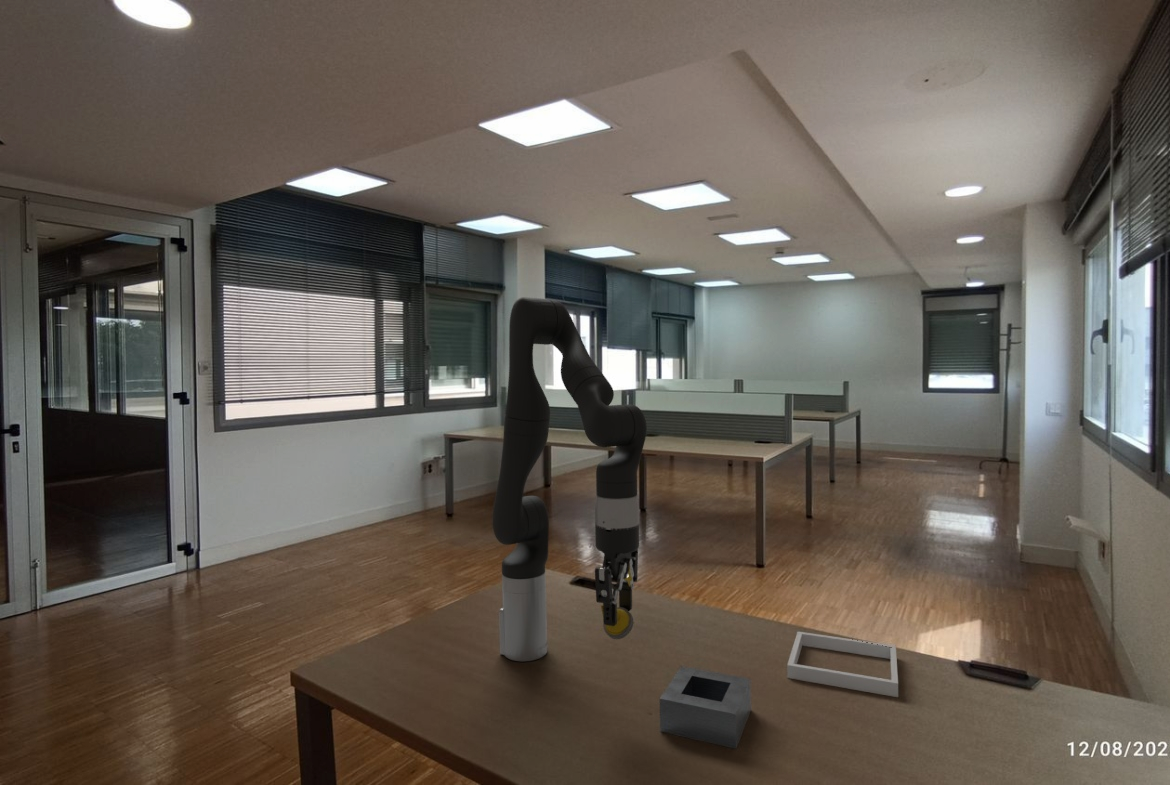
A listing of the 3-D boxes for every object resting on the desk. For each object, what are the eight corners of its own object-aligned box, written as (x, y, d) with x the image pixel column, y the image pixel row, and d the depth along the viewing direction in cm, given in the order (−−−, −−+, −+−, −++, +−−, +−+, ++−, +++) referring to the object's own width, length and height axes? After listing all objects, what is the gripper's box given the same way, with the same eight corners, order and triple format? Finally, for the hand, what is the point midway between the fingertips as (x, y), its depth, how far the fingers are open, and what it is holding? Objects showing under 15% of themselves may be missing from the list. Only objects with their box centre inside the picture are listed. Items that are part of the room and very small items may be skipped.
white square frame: (787, 677, 120) (787, 664, 120) (797, 642, 135) (797, 631, 135) (898, 697, 112) (898, 683, 111) (895, 657, 127) (895, 645, 127)
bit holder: (660, 731, 103) (659, 698, 102) (681, 695, 114) (681, 666, 114) (736, 748, 97) (735, 714, 97) (750, 709, 109) (750, 678, 108)
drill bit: (642, 640, 108) (617, 614, 102) (614, 650, 109) (588, 625, 103) (637, 612, 112) (613, 586, 106) (610, 622, 113) (585, 597, 107)
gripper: (613, 510, 115) (614, 599, 116) (579, 528, 102) (580, 629, 103) (651, 514, 112) (652, 606, 112) (621, 533, 99) (622, 637, 99)
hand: (618, 616), depth 108 cm, fingers closed on drill bit, 6 cm apart
